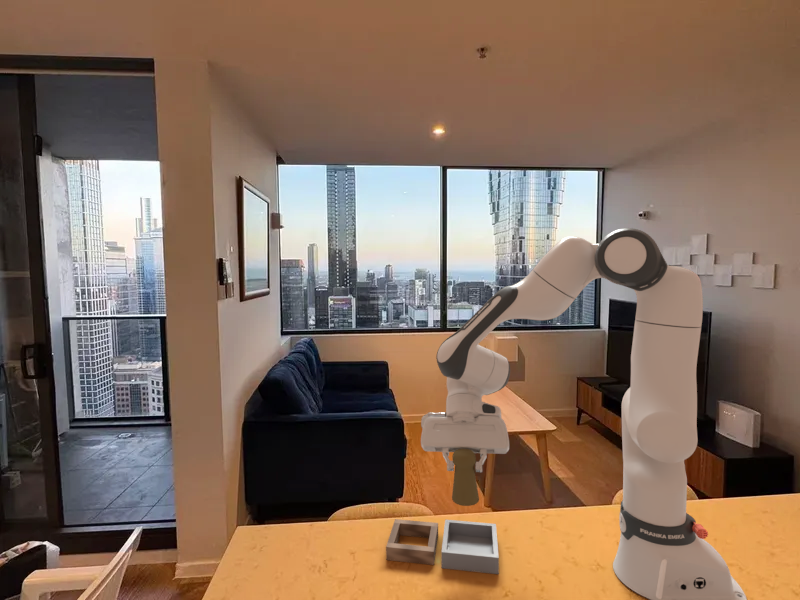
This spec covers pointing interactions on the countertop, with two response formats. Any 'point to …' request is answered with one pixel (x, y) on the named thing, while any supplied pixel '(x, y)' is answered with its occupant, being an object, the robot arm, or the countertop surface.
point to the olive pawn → (464, 478)
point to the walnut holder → (412, 551)
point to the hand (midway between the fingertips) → (464, 470)
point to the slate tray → (470, 547)
